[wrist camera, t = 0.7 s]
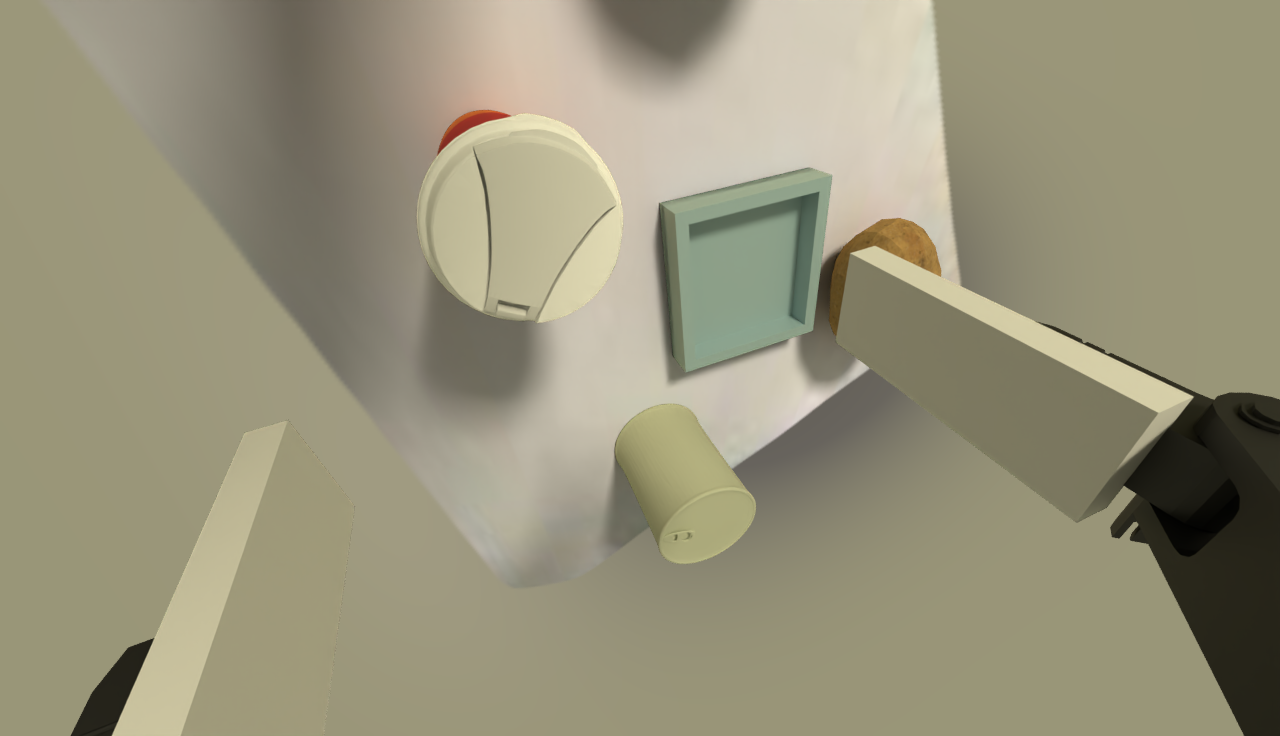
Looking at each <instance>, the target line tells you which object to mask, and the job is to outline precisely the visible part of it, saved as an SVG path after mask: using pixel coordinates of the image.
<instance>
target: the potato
mask: <svg viewBox="0 0 1280 736" xmlns="http://www.w3.org/2000/svg"><path fill="white" fill-rule="evenodd" d="M873 246H876V247H879V248H881V249H883V250H885V251H887V252H889V253H891V254H893V255H895V256H898V257H900V258H902V259H904V260H906V261H908V262H910V263H912V264H915V265H917V266H919V267H921V268H923V269H925V270H927V271H929V272H931V273H934V274H936V275H938V276H940V277H941V268H940V264H939V261H938V257H937V252H936V247H935V245H934V244H933V242H932V241H931V239H930V238H929V236H928V235H927V233H926V232H925V230H924V229H923V228H921V227H920V226H918V225H917V224H915V223H914V222H911V221H908V220H905V219H901V218H896V219H882V220H880V221H879V222H877V223H875V224H874V225H872V226H871V227H869V228H867V229H866V230H864V231H863V232H861V233H859V234H858V235H856V236H855V237H854V238H853V239H852V240H851V241H850V242H848V243H847V244H846V245H845V246H844V247H843V249H842V250H841V252H840V254H839V256H838V258H837V259H836V262H835V266H834V270H833V273H832V280H831V287H830V311H829V322H830V325H831V328H832V331H833V333H834V334H835V335H836V336H837V330H838V324H839V318H840V312H841V306H842V300H843V293H844V287H845V281H846V275H847V269H848V263H849V257H850V253H852V252H856V251H859V250H863V249H866V248H869V247H873Z"/></svg>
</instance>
